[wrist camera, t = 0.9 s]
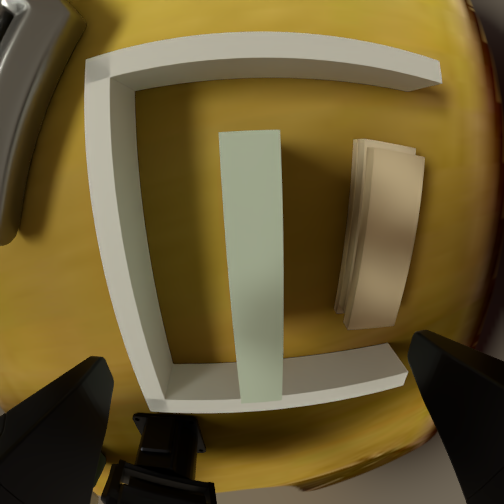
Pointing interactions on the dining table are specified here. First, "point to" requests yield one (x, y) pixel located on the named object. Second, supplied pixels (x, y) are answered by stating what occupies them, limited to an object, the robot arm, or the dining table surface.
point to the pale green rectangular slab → (255, 257)
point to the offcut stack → (378, 232)
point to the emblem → (28, 88)
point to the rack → (132, 217)
